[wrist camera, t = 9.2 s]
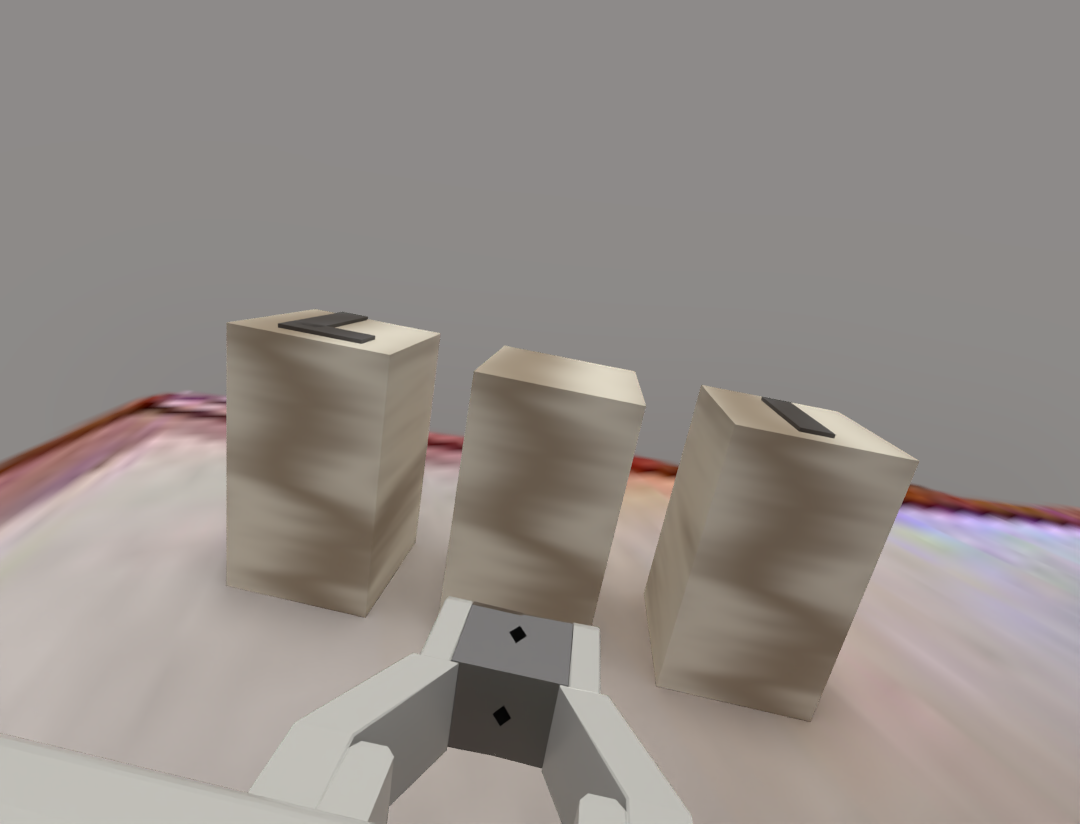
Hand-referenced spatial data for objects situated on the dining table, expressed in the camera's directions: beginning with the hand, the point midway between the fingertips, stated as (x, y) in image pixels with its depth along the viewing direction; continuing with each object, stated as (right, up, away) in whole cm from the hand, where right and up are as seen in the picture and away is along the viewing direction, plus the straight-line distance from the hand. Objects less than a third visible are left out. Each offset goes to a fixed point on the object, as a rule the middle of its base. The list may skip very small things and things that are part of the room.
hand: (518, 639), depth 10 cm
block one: (+8, -6, +13) cm, 17 cm away
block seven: (-9, -3, +14) cm, 17 cm away
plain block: (-1, -4, +14) cm, 14 cm away
